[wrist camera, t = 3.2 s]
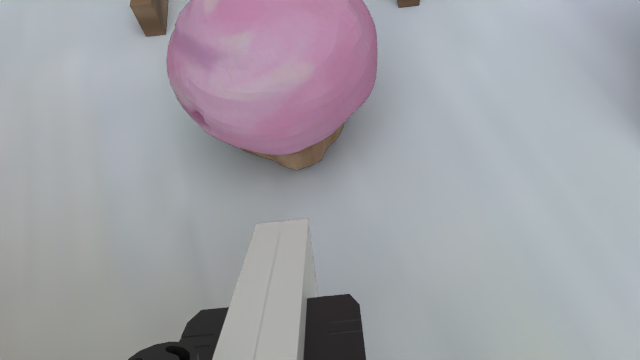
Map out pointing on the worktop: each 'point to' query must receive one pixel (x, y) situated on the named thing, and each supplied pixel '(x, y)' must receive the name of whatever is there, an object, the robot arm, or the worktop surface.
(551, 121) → the worktop surface
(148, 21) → the wooden flag stand
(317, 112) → the cupcake
